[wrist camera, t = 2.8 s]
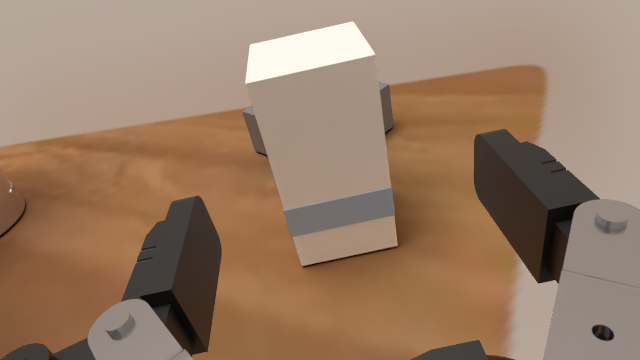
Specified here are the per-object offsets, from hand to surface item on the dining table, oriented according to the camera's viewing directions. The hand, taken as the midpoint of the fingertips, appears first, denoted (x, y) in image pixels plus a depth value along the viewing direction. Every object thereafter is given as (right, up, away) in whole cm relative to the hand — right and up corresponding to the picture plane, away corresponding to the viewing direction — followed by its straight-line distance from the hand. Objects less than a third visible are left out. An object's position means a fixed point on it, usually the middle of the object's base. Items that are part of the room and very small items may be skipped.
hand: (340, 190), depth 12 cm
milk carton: (+1, -3, +16) cm, 16 cm away
